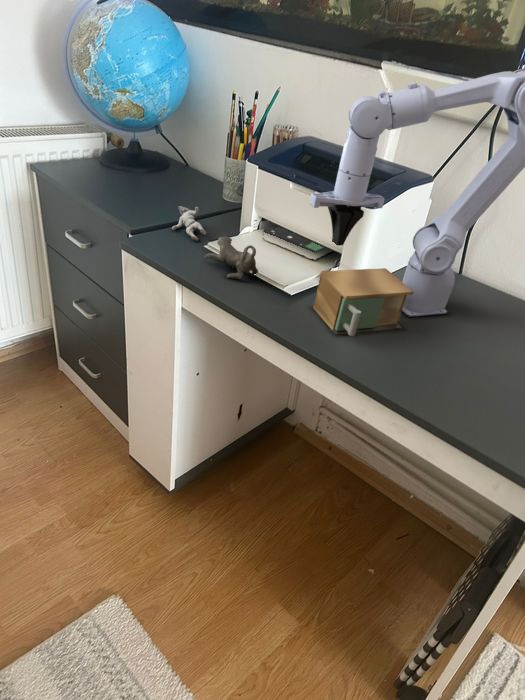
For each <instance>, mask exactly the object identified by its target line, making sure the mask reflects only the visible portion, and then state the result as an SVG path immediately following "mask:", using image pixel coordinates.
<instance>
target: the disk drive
mask: <svg viewBox="0 0 525 700" xmlns="http://www.w3.org/2000/svg"><path fill="white" fill-rule="evenodd" d="M272 228H273V227H267V228H264V229H263V231H262V233H263V232H265V233H267V234H270V235H273V236H276V237H278V238H280V239H283V240H285V241H287V242H290V243H293V244H295V245H297V246H300V247H302V248H304V249H307V250H310V251H312V252H314V253H317V252H319V251H322V250H324V249H325V248H324V247H322V246H320V245H317V244H315V243H313V242H311V241H309V240H307V239H304V238H302V237H300V236H298V235H296V234H294V233H291V232H289V231H288V230H285V229H283V228H280V227H277V228H275V229H272Z"/></svg>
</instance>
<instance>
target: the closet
mask: <svg viewBox="0 0 525 700" xmlns="http://www.w3.org/2000/svg"><path fill="white" fill-rule="evenodd" d="M413 293H414V292H413V291H412V290H411V289H410V288H409V287H407V286H406V285H405V284H404V283H403V282H402V280H400V279H399V278H398V277H397V276H396V275H394V274H393V273H392V272H391V271H389V270H388V269H387V268H385V267H384V268H364V269H363V268H361V269H358V268H357V269H339V270H338V269H336V270H335V269H334V270H321V271H320V276H319V280H318V285H317V289H316V294H315V297H314V302H313V306H312V308H313V310H314V311H315V312H316V313H317V315H318V316H319V317H320V318H321V319H322V320H323V322H324V323H325V324H326V325H327V326H328V327H329V328H330V330H331V331H332V332H333V333H334V334H335V336H341V335H348V331H347V330H340V331H336V329H335V326H336V323H337V319H338V315H339V311H340V307H341V303H342V300H343V298H345V299H355V298H370V297H385V298H384V301H383V305H382V308H381V311H380V314H379V317H378V321H377V324H376V327H372V328H361V329H356V332H355V334H361V333H370V332H371V333H372V332H382V331H391V330H401V329H402V326H401V325H400V324H399V320H400V318H401V315H402V312H403V311H402V309H403V306H404V303H405V300H406V297H407V295H413Z"/></svg>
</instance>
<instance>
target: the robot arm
mask: <svg viewBox="0 0 525 700" xmlns="http://www.w3.org/2000/svg"><path fill="white" fill-rule="evenodd" d="M482 103H489V104H491V105H495V106H498V107H500V108H502V110H503V112H504V113H505V116H506V118H507V119H506V121H507V131H508V137H507V139H506V140H505V142H503V144H502V145H501V146H500V147H499V149H498V150H497V151H496V152H495V153H494V154H493V156H492V157H491V158H490V160H488V161H487V163H486V164H485V165H484V166H483V167H482V169H480V171H479V172H478V173H477V174H476V176H475V177H474V178H473V179H472V180H471V181H470V183H469V184H467V186H466V188H465V189H464V190H463V191H462V192H461V193H460V194H459V195H458V197H457V198H456V199H455V200H454V201H453V202H452V204H451V205H450V206H449V207H448V208H447V210H446V211H445V212H444V213H442V214H438V215H437V216H434V218H433V219H432V220H431V221H430V222H429V223H428V224H426V225H424V226H422V227H420V228H419V229H418V230H416V232H415V233H414V235H413V237H412V246H413V249H414V253H413V254H412V255H411V256H410V257H409V260H408V262H407V265H406V267H405V268H406V269H405V272H404V275H403V278H402V280H401V282H403V283H404V284H405V285H406V286H407V287H409V288H410V289H411V290H412V291H413V292H414V293H413V295H407V297H406V300H405V303H404V306H403V309H402V312H403V313H404V314H405V315H406V316H407V317H421V316H434V315H445V314H447V313H448V310H446V306H447V304H448V301H449V299H450V296H451V294H452V291H453V288H454V287H455V286H454V285H455V281H456V276H455V271H454V270H453V269H452V266H453V265H454V263H455V261H456V257H457V255H458V252H459V251H460V250H461V249H462V248H463V246H464V244H465V239H466V236H467V232H468V231H470V229H471V228H472V227H473V226H474V224H475V223H476V222H477V221H478V220H479V219H480V218H481V217H482V215H484V213H485V212H486V211H487V210H488V209H489V208H490V206H492V204H493V203H494V202H495V201H496V200H498V198H499V197H500V195H501V194H502V193H503V192H504V191H505V190H506V189H507V188H508V186H509V185H510V184H511V183H512V182H513V181H515V179H516V177H518V175H520V173H521V172H522V171H523V170H524V169H525V68H520V69H517V70H514V71H511V70H508V71H500V72H495V73H490V74H486V75H483V76H479V77H476V78H473V79H468V80H465V81H462V82H459V83H455V84H451V85H448V86H444V87H440V88H437V89H434V90H432V89H431V88H430V87H428V86H427V85H426V84H424V83H423V84H418V83H417V82H416V81H413V82H409V83H407V87H406V88H402V89H397V90H393V91H389V92H386V91H385V90H379V91H378V92H377V97H375V96H372V95H364V96H361V97H359V98H358V99H357V100H356V101H355V102H354V103H353V104H352V105H351V108H350V109H349V110H348V120H349V123H350V125H349V126H348V130H347V132H346V139H345V141H344V143H343V148H342V152H341V156H340V160H339V166H338V171H337V175H336V179H335V184H334V189H333V190H332V191H327V192H326V191H325V192H318V193H310V198H309V199H310V200H309V203H308V204H309V205H310V206H311V207H312V208H314V209H318V208H319V209H320V207H327V209H328V212H329V216H330V217H329V218H330V221H331V230H332V231H331V233H332V236H331V239H332V242H334V243H335V244H336V245H337V246H344V244H345V242H346V240H347V239H348V237H349V235H350V233H351V232H352V230H353V228H355V226H356V225H357V223H359V221H361V219H362V218H364V214H365V211H364V210H363V209H362V208H376V209H383V207H384V203H385V197H383V196H382V195H381V194H374V193H373V194H372V193H367V190H368V187H369V182H370V179H371V175H372V172H373V167H374V163H375V160H376V155H377V151H378V143H379V139H380V136H381V135H382V134H383V133H384V131H385V130H388V131H392V130H397V129H401V128H405V127H410V126H414V125H418V124H424V123H427V122H428V121H429V120H430V118H432V116H433V115H434V114H435V113H436V112H441V111H444V110H445V111H446V110H450V109H451V110H452V109H457V108H461V107H466V106H472V105H478V104H482Z"/></svg>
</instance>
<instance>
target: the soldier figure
mask: <svg viewBox="0 0 525 700" xmlns="http://www.w3.org/2000/svg"><path fill="white" fill-rule="evenodd" d="M178 210H179V213H180V215H181V216H180V217H179V221H178V224H175V225H173V226H172V227H171V230H176V229H180V228H182V227H183V226H184V227H185V228H186V229H185V233H186V234H187V236H188V237H189V236H190V238H191V241H195V242H198V241H199V240H200V239H199V238H198V237H197V236H196V235H195V234H194V232H195V231H196V230H199V232H200V233H201V234H202V235H203V236H206V235H207V232H206V230H205V229H204V228H203V226H202V225H201V223H200V222H199V221H196V220H195V216H196V215H198V214H199V212H200V209H199V207H198V206H195V208H194V210H191V209H190V208H188V207H184V206H182V205H180V206H178Z"/></svg>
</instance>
